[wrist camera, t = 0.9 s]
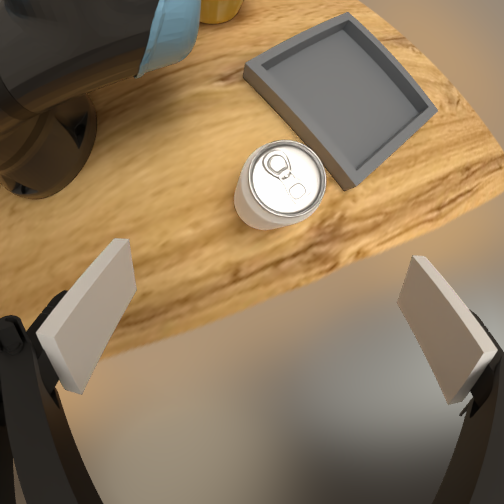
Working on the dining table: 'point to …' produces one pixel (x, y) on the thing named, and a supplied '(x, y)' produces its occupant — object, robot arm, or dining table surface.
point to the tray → (341, 96)
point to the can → (279, 185)
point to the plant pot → (218, 10)
